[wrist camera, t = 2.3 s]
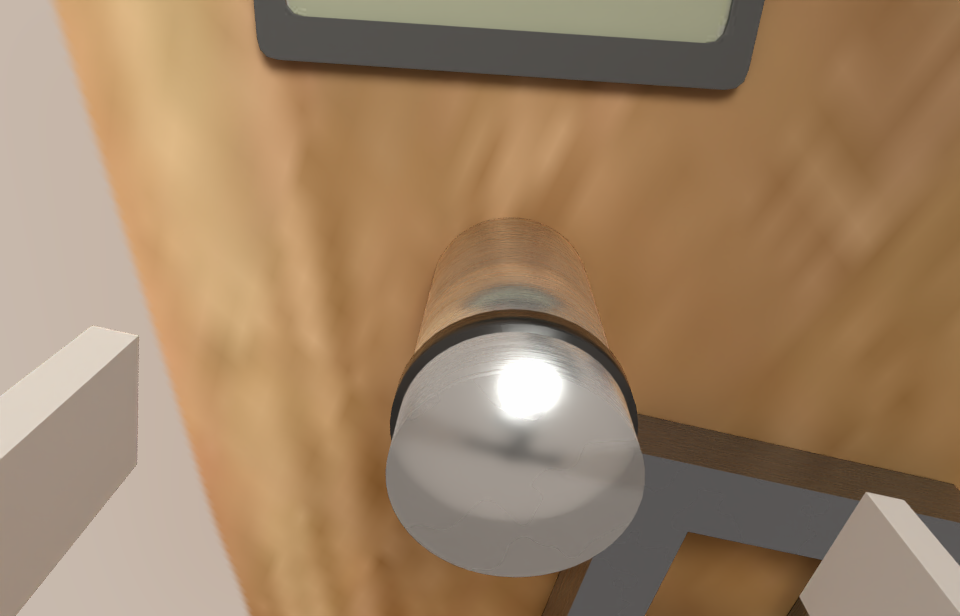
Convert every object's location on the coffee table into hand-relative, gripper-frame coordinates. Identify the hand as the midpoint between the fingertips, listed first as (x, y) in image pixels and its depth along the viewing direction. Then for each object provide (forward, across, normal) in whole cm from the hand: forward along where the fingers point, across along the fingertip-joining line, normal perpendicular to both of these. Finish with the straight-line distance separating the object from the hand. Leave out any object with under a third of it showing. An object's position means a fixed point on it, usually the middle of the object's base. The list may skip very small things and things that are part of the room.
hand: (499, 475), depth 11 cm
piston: (+7, 0, 0) cm, 7 cm away
